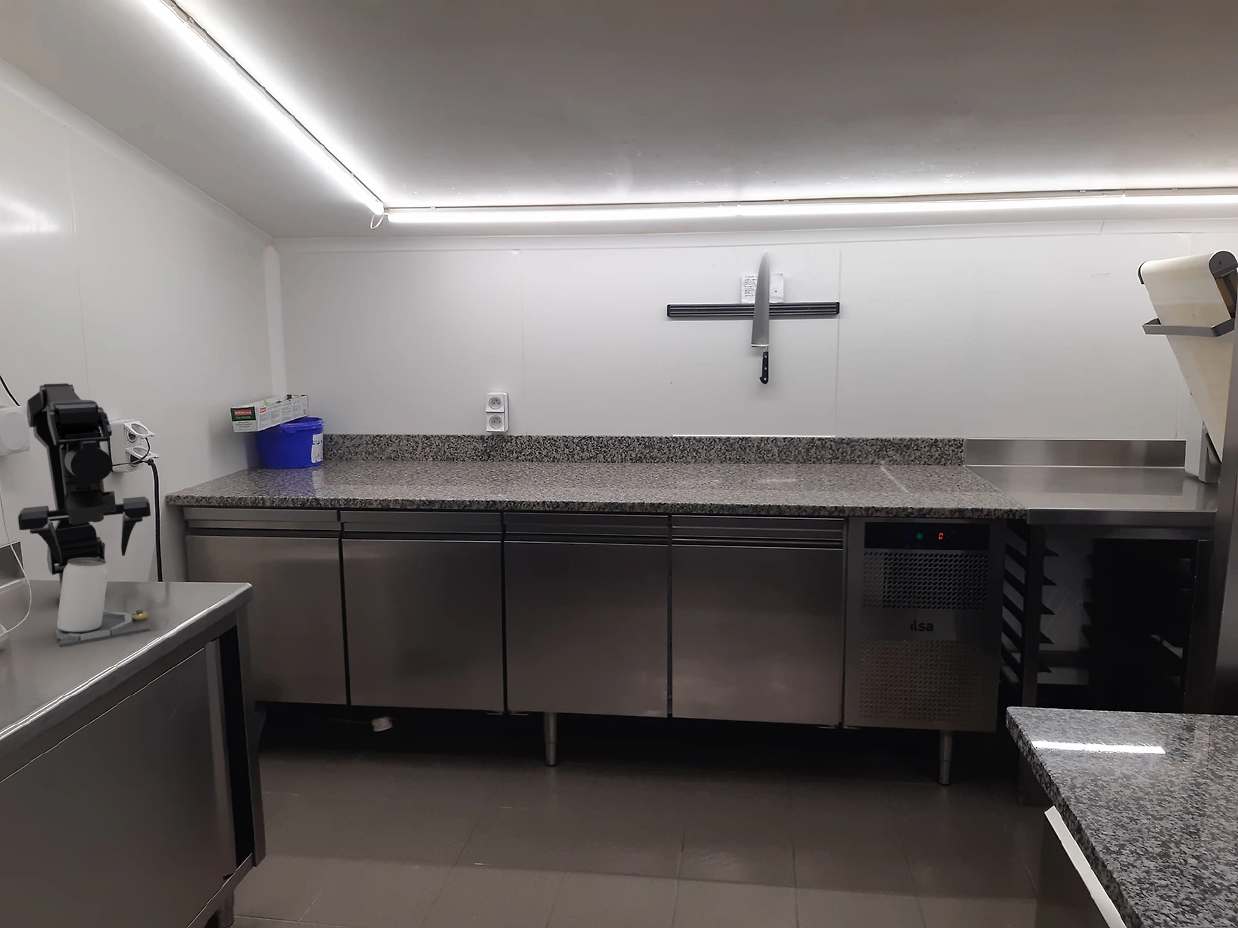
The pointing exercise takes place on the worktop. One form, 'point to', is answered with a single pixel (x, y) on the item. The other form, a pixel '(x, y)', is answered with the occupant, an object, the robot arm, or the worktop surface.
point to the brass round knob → (139, 616)
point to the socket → (101, 633)
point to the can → (82, 595)
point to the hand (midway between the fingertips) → (92, 559)
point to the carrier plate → (108, 624)
